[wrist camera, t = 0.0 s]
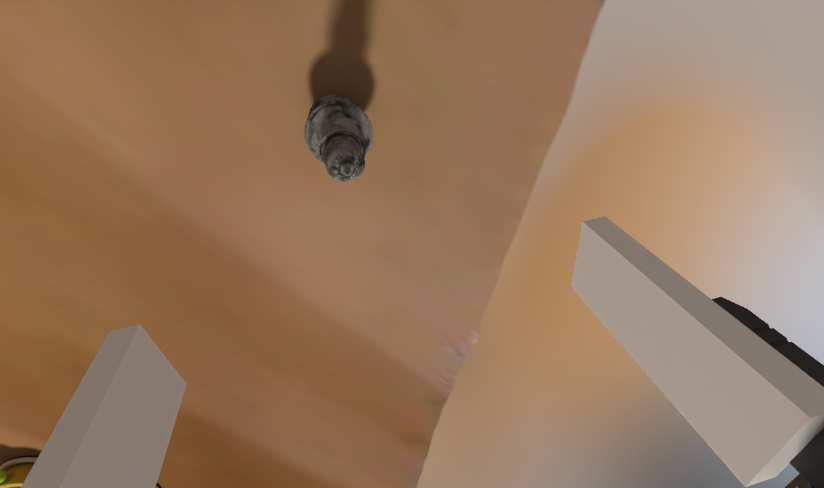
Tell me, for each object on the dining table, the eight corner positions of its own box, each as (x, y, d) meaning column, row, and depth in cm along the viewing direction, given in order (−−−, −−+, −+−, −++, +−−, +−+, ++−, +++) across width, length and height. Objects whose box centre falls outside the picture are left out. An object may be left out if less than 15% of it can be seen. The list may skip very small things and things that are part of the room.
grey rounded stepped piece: (300, 91, 34) (297, 134, 24) (366, 89, 35) (388, 130, 25) (309, 154, 37) (309, 214, 27) (368, 151, 38) (389, 207, 28)
